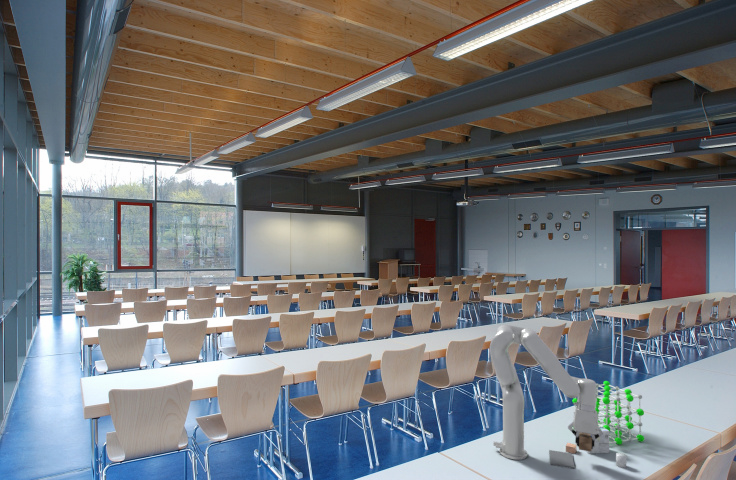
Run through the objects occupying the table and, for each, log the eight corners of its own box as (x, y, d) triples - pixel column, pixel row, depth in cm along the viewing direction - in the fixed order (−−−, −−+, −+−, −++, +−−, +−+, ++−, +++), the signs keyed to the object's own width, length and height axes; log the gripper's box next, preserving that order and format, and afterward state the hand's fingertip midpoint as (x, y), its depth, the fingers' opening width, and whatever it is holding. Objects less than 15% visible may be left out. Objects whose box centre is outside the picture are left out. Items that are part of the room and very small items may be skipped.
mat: (550, 464, 201) (550, 463, 201) (549, 451, 214) (549, 449, 214) (574, 468, 197) (574, 467, 197) (571, 455, 210) (571, 453, 210)
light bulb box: (602, 447, 219) (602, 425, 219) (610, 453, 212) (609, 430, 212) (580, 447, 218) (580, 425, 219) (588, 453, 212) (587, 431, 212)
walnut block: (579, 449, 202) (579, 436, 202) (578, 445, 207) (578, 432, 207) (591, 451, 200) (591, 438, 200) (590, 447, 205) (590, 434, 205)
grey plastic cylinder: (616, 467, 199) (616, 456, 199) (615, 463, 203) (615, 452, 203) (627, 468, 197) (627, 457, 197) (625, 464, 201) (625, 453, 201)
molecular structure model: (606, 448, 218) (606, 398, 218) (570, 428, 242) (570, 383, 242) (646, 442, 224) (645, 394, 225) (607, 423, 248) (606, 379, 249)
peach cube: (565, 451, 214) (565, 445, 214) (567, 448, 217) (567, 442, 217) (574, 454, 212) (574, 447, 212) (576, 450, 215) (576, 444, 215)
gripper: (566, 406, 203) (564, 446, 203) (608, 412, 197) (606, 453, 197) (565, 401, 210) (563, 439, 210) (605, 407, 204) (604, 446, 204)
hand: (584, 446), depth 203 cm, fingers closed on walnut block, 5 cm apart
